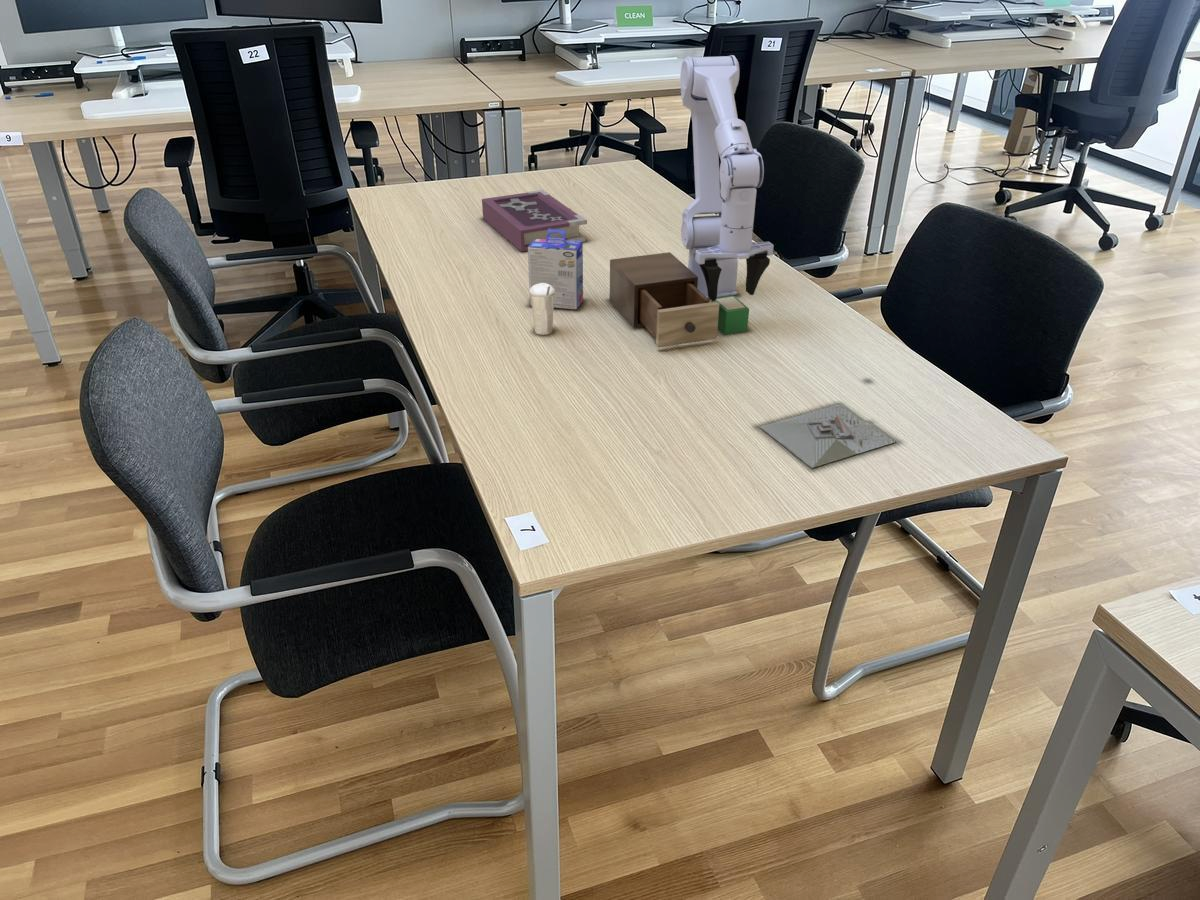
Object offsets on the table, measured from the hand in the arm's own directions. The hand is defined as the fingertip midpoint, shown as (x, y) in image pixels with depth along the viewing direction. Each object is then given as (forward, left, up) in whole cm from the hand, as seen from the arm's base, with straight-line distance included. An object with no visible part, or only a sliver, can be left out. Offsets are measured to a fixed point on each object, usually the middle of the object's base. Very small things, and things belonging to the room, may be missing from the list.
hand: (731, 295), depth 169 cm
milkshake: (+33, -8, -6) cm, 35 cm away
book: (+20, -63, -6) cm, 67 cm away
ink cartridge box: (+27, -20, -6) cm, 35 cm away
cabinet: (+11, -11, -6) cm, 17 cm away
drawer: (+11, 0, -5) cm, 12 cm away
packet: (0, 0, -6) cm, 6 cm away
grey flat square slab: (-2, +38, -6) cm, 38 cm away
